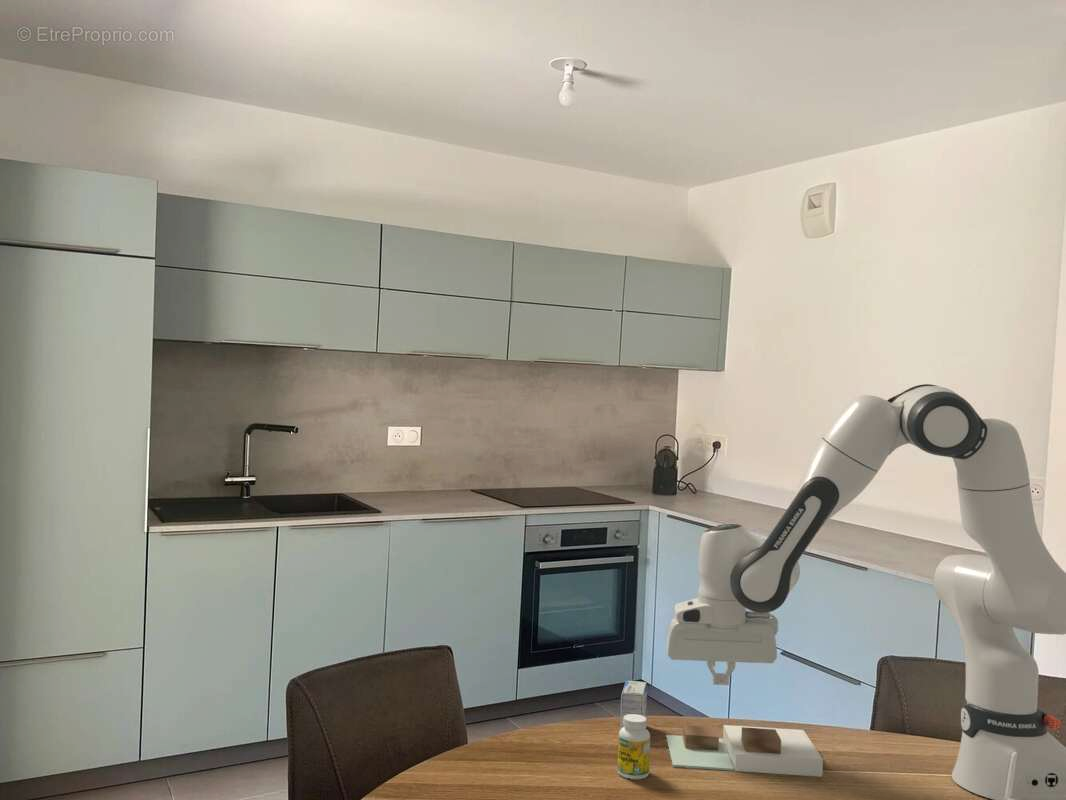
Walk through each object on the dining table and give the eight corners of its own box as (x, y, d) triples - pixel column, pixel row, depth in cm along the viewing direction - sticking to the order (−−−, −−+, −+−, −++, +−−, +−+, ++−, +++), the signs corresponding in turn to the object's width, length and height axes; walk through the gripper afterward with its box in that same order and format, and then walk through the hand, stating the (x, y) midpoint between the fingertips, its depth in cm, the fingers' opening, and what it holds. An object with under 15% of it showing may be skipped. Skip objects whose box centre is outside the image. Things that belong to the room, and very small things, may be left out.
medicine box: (642, 740, 168) (644, 694, 168) (619, 737, 169) (621, 691, 169) (645, 725, 176) (647, 681, 176) (623, 723, 177) (625, 679, 177)
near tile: (774, 743, 161) (775, 729, 161) (780, 754, 156) (781, 739, 156) (741, 741, 161) (741, 727, 161) (746, 751, 156) (746, 737, 156)
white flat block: (802, 745, 168) (803, 730, 168) (822, 776, 154) (823, 759, 154) (722, 740, 169) (723, 724, 169) (735, 770, 155) (735, 753, 155)
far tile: (714, 740, 168) (715, 727, 168) (718, 750, 163) (718, 736, 163) (682, 738, 169) (683, 725, 169) (685, 748, 164) (685, 734, 164)
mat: (721, 740, 169) (721, 738, 169) (733, 770, 155) (734, 768, 155) (665, 737, 170) (666, 734, 170) (672, 766, 156) (673, 764, 156)
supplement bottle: (653, 772, 153) (656, 717, 153) (640, 783, 149) (642, 726, 149) (626, 764, 156) (628, 710, 156) (611, 774, 152) (614, 718, 152)
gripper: (775, 608, 169) (773, 680, 169) (666, 604, 170) (665, 676, 170) (781, 616, 162) (780, 692, 162) (668, 612, 164) (667, 687, 164)
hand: (720, 684), depth 166 cm, fingers closed
